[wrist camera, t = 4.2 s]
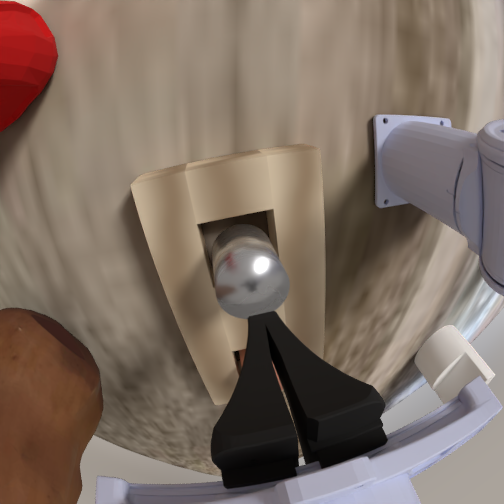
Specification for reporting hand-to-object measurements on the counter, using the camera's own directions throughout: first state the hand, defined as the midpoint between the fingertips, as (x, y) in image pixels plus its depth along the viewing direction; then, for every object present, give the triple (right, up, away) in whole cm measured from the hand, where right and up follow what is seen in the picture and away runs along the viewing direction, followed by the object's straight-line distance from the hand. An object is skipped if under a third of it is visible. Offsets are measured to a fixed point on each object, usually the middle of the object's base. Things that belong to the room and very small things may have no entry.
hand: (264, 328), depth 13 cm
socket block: (-1, 0, +11) cm, 11 cm away
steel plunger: (-1, +4, +5) cm, 7 cm away
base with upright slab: (+29, -12, +23) cm, 39 cm away
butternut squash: (-21, -5, +10) cm, 24 cm away
